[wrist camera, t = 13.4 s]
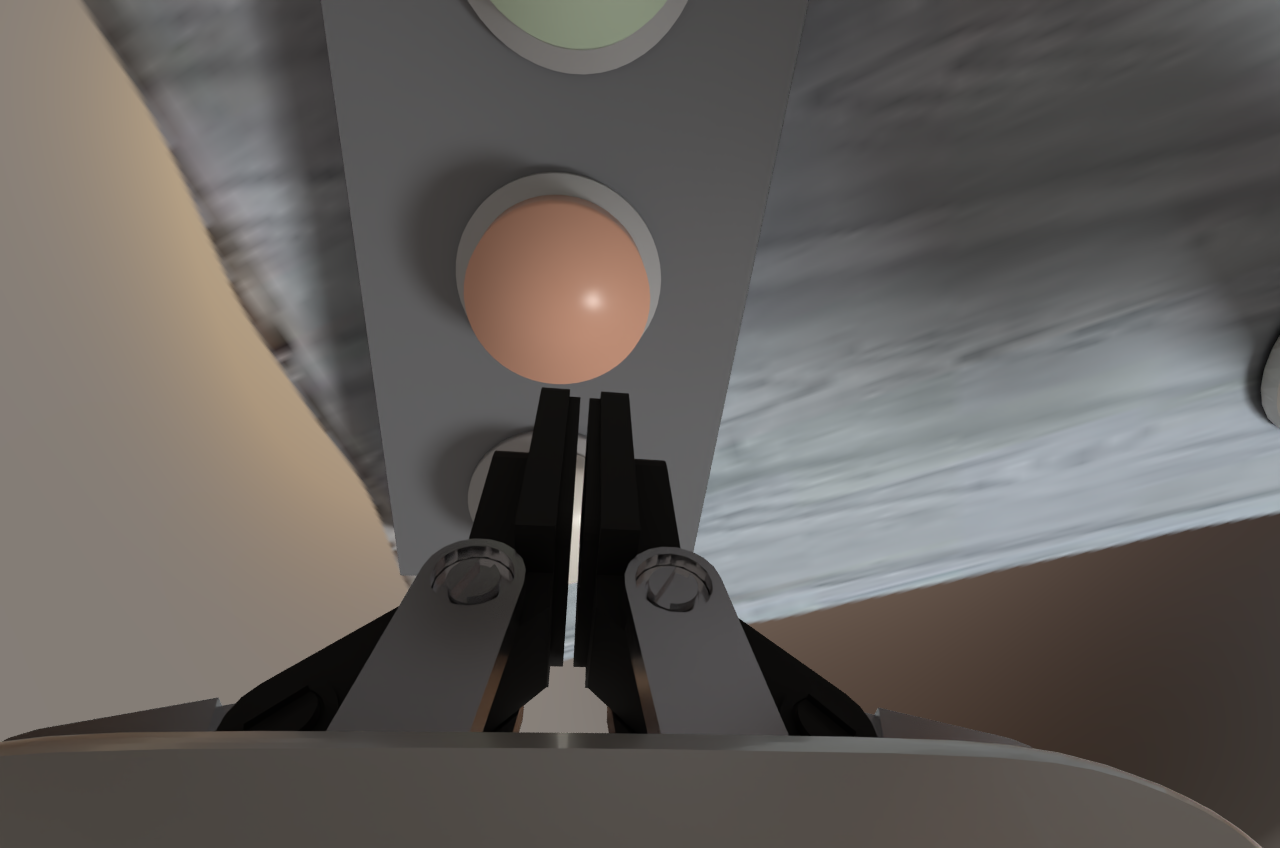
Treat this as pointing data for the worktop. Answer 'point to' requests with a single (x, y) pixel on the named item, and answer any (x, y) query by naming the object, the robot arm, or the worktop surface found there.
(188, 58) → the worktop surface
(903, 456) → the worktop surface
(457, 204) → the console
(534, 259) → the button terracotta
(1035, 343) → the worktop surface
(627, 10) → the button green
